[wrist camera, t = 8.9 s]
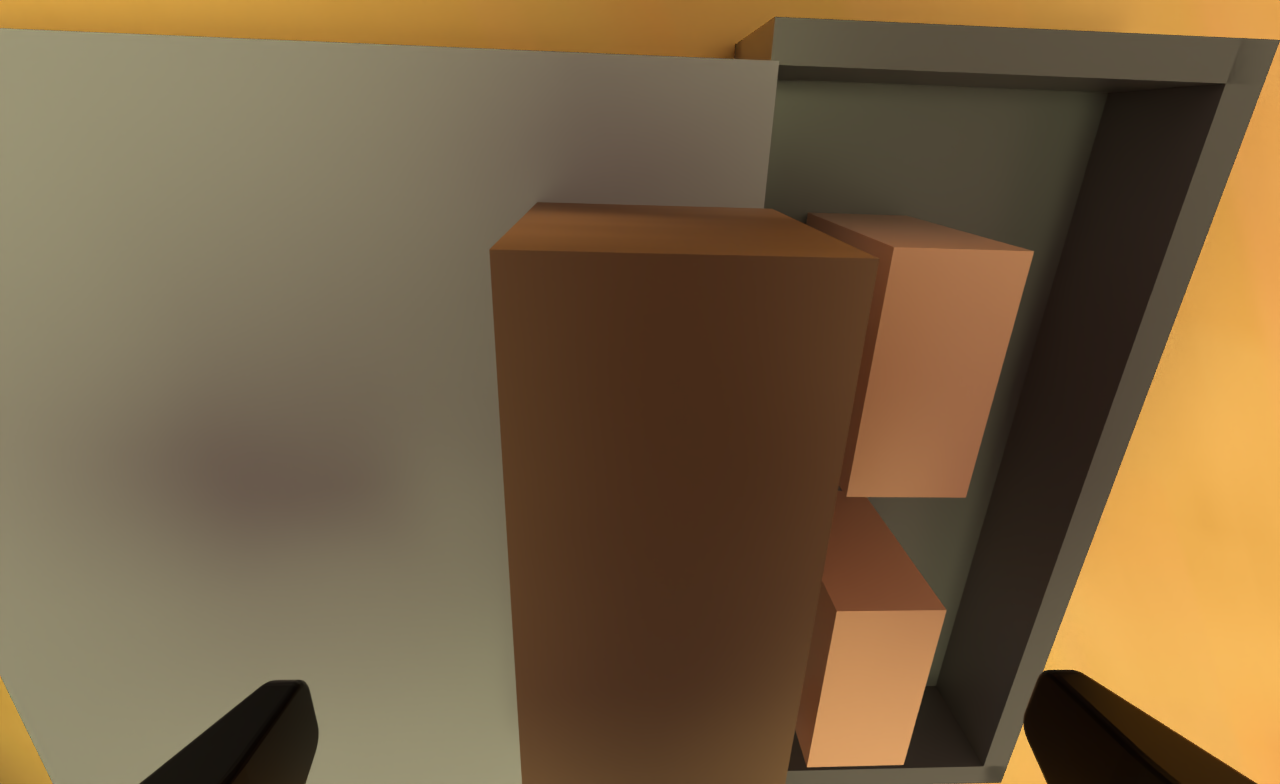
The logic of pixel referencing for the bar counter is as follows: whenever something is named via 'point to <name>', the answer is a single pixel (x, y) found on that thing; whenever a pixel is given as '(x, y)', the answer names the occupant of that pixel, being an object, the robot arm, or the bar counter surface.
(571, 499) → the brown wooden plank
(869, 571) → the tile
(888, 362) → the tile
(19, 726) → the bar counter surface
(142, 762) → the board
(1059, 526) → the tray
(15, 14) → the bar counter surface
